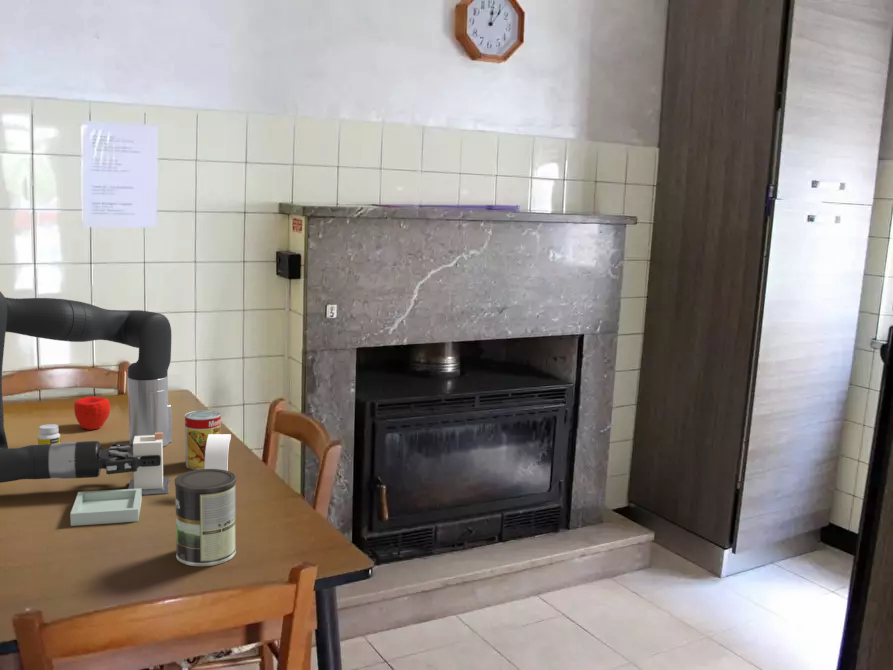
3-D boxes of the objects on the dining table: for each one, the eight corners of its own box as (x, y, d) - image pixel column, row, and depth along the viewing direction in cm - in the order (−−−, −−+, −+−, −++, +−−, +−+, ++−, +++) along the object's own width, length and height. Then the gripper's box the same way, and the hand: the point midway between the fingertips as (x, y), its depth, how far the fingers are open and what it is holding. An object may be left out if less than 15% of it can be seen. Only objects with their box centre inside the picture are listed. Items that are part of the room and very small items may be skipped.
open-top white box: (135, 480, 186) (134, 430, 184) (164, 479, 187) (163, 429, 185) (134, 489, 180) (132, 438, 179) (163, 488, 182) (162, 436, 180)
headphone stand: (231, 488, 186) (231, 434, 184) (227, 498, 180) (226, 442, 178) (209, 488, 185) (208, 434, 183) (204, 498, 179) (204, 442, 177)
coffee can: (169, 567, 147) (168, 488, 144) (182, 542, 157) (181, 468, 155) (231, 567, 148) (230, 488, 145) (240, 542, 158) (240, 468, 156)
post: (130, 483, 187) (129, 445, 185) (169, 480, 189) (168, 443, 187) (127, 495, 179) (126, 456, 178) (168, 493, 181) (167, 454, 180)
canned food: (220, 469, 198) (220, 418, 196) (185, 470, 196) (184, 419, 194) (221, 458, 205) (220, 409, 203) (186, 460, 203) (185, 410, 201)
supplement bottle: (52, 465, 196) (51, 429, 195) (34, 463, 197) (32, 427, 196) (65, 459, 201) (64, 424, 200) (47, 457, 202) (46, 422, 200)
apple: (118, 427, 228) (117, 398, 227) (88, 434, 221) (87, 404, 220) (96, 421, 233) (95, 393, 232) (67, 428, 226) (66, 399, 224)
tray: (78, 503, 174) (78, 492, 174) (141, 499, 177) (141, 488, 177) (70, 525, 163) (70, 513, 162) (138, 521, 166) (138, 509, 166)
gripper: (69, 453, 171) (159, 448, 176) (78, 432, 185) (161, 429, 190) (71, 489, 173) (160, 483, 177) (80, 466, 186) (162, 462, 191)
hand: (160, 455), depth 183 cm, fingers closed on open-top white box, 5 cm apart
